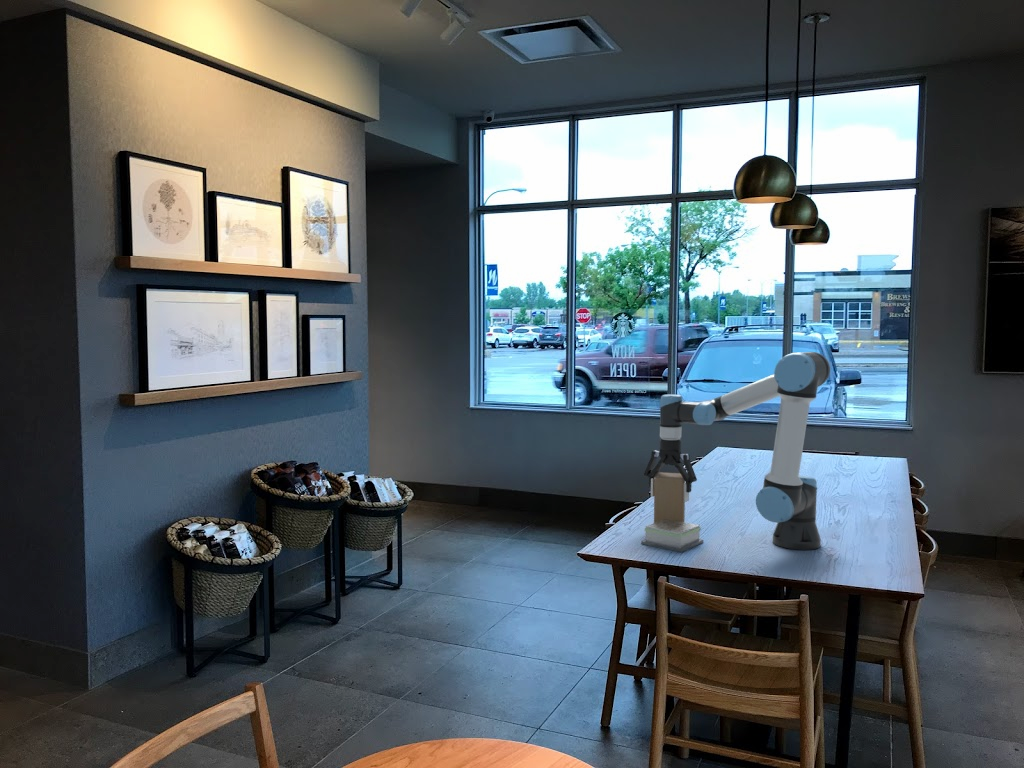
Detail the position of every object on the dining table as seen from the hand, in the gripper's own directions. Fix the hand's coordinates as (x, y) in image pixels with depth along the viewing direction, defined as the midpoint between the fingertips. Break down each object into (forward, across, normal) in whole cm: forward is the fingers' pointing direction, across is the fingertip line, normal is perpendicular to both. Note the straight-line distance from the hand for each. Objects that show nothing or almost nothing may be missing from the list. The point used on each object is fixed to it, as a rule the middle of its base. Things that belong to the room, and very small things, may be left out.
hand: (669, 498), depth 284 cm
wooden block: (+12, 0, 0) cm, 12 cm away
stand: (+11, -9, +14) cm, 20 cm away
